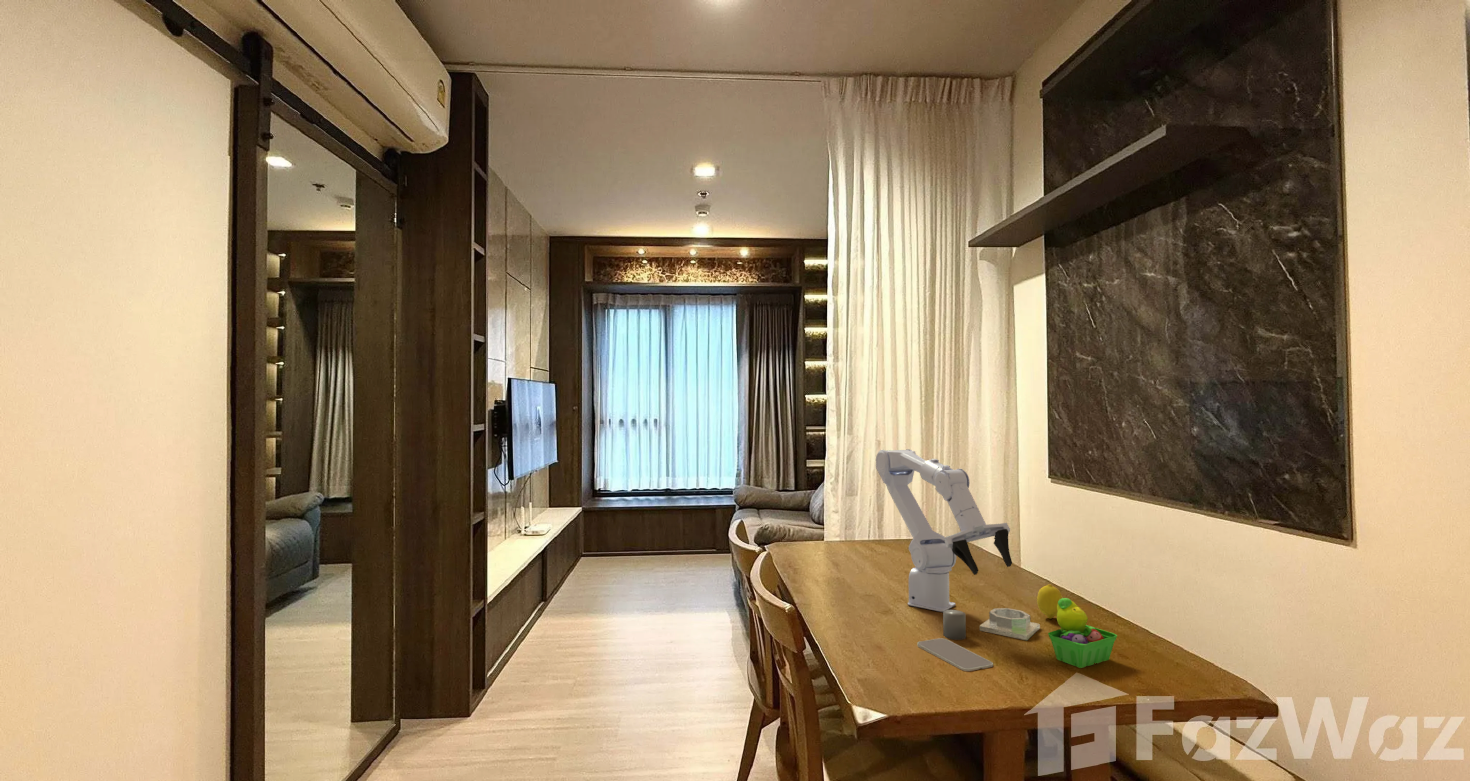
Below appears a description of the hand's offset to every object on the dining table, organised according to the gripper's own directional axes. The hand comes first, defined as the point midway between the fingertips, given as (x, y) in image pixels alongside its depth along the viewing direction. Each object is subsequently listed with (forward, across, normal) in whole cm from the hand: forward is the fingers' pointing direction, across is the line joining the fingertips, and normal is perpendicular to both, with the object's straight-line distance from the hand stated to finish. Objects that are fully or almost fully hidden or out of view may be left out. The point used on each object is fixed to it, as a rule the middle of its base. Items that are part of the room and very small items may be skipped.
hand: (993, 568), depth 141 cm
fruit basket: (+22, +8, -1) cm, 23 cm away
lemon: (+8, +14, +20) cm, 26 cm away
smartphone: (+16, -16, -2) cm, 23 cm away
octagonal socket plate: (+10, +2, +12) cm, 16 cm away
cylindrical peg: (+10, -12, +7) cm, 17 cm away
